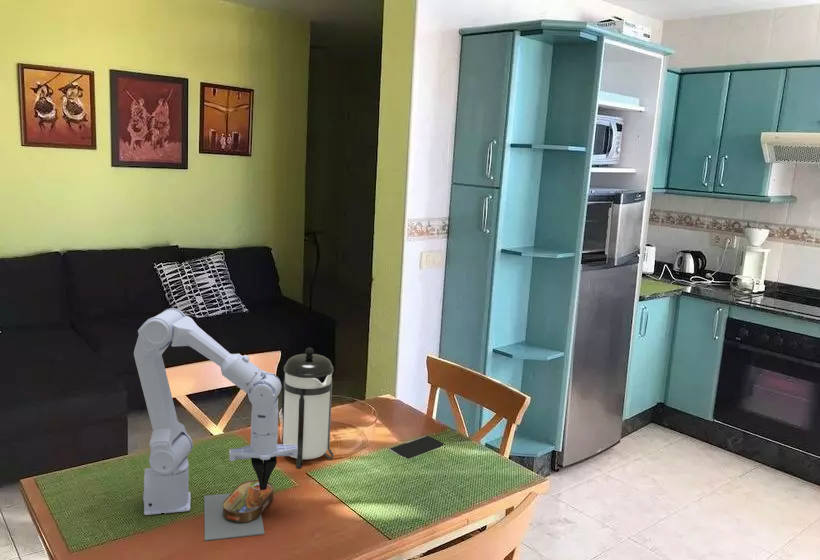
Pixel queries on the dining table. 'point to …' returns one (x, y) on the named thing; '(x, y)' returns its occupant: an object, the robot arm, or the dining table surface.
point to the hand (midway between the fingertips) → (262, 487)
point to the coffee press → (307, 405)
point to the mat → (226, 521)
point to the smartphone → (417, 447)
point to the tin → (247, 501)
